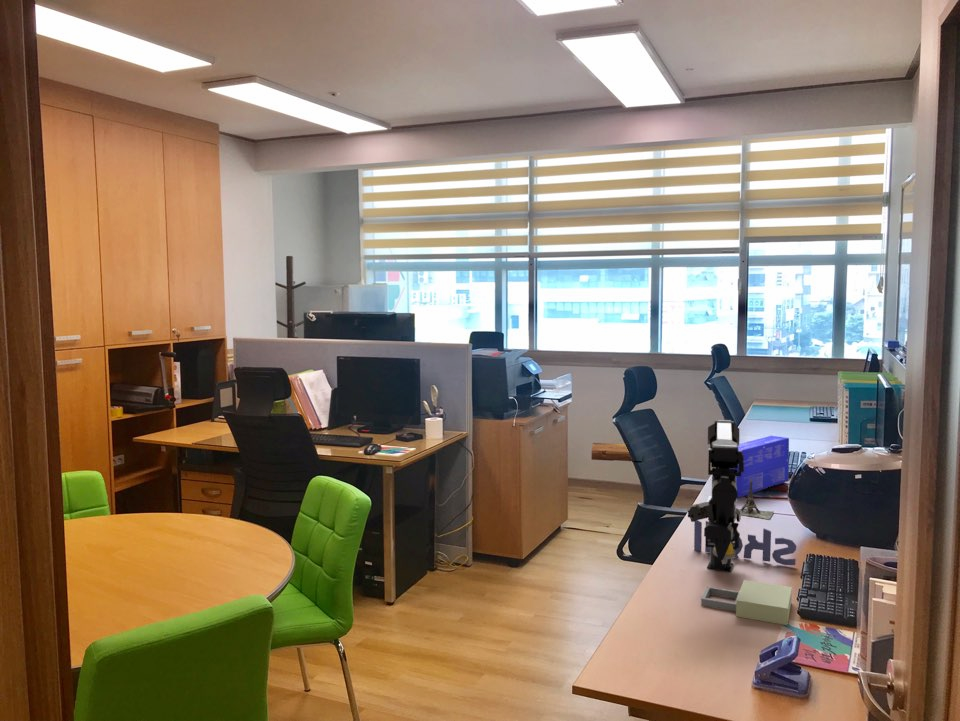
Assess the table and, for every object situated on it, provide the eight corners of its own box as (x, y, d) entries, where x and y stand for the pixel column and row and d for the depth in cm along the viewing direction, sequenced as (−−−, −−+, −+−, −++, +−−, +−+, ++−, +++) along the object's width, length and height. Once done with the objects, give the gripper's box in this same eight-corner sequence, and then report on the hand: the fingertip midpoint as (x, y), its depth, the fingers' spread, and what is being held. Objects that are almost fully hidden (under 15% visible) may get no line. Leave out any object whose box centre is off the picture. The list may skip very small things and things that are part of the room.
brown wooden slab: (591, 463, 344) (591, 450, 344) (592, 454, 362) (592, 442, 362) (642, 464, 340) (642, 452, 339) (640, 456, 358) (641, 444, 358)
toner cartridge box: (770, 478, 312) (771, 435, 310) (789, 482, 305) (790, 437, 304) (717, 494, 287) (718, 447, 285) (736, 499, 281) (737, 450, 279)
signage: (795, 566, 211) (796, 532, 210) (795, 567, 211) (796, 533, 210) (694, 551, 224) (695, 519, 223) (693, 552, 224) (694, 519, 223)
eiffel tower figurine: (724, 514, 263) (725, 477, 262) (730, 507, 271) (731, 471, 270) (769, 520, 255) (770, 482, 254) (774, 512, 264) (775, 475, 263)
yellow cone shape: (729, 559, 189) (733, 522, 187) (737, 569, 184) (741, 532, 181) (708, 559, 189) (712, 522, 186) (715, 569, 183) (719, 532, 181)
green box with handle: (708, 589, 195) (709, 574, 194) (791, 602, 186) (791, 587, 186) (699, 609, 182) (699, 593, 182) (787, 625, 173) (787, 608, 173)
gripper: (697, 482, 196) (696, 540, 197) (683, 500, 179) (682, 563, 181) (741, 487, 191) (740, 546, 193) (731, 506, 174) (729, 570, 176)
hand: (722, 556), depth 186 cm, fingers closed on yellow cone shape, 5 cm apart
